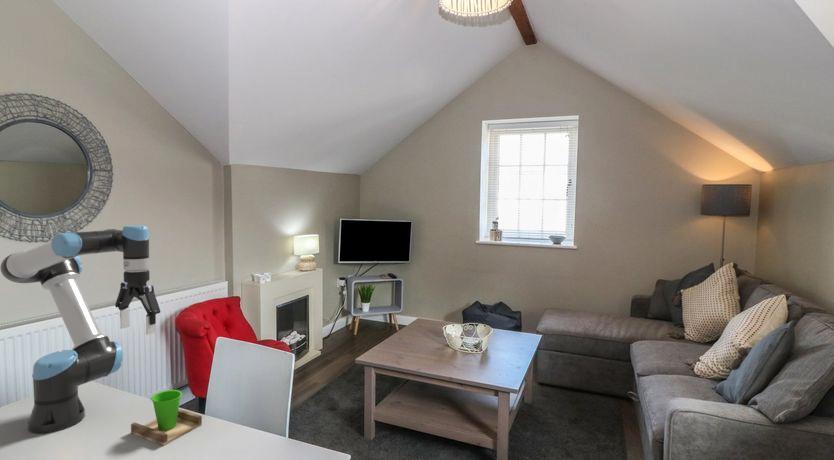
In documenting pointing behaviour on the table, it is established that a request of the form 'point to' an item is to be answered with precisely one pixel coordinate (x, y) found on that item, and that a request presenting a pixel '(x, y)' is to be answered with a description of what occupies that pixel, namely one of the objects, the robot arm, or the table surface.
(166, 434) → the wooden tray
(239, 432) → the table surface
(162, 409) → the cup
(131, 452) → the table surface
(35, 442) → the table surface
